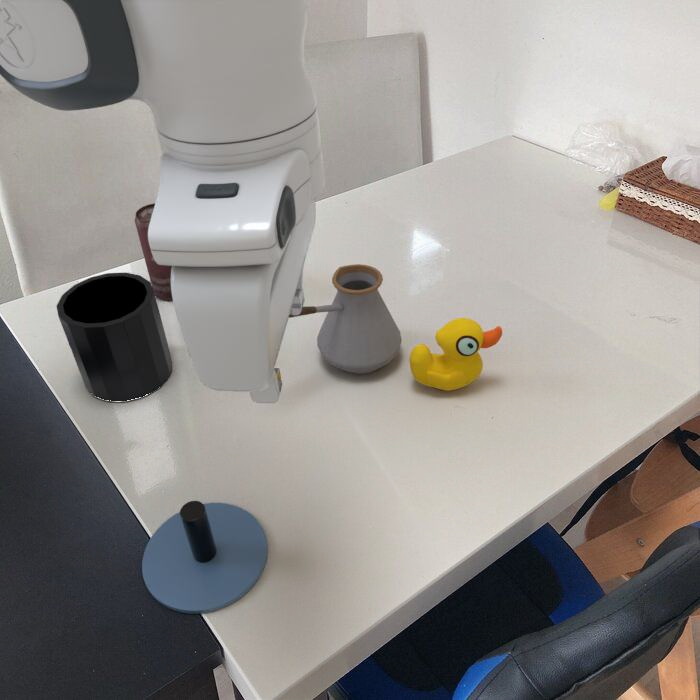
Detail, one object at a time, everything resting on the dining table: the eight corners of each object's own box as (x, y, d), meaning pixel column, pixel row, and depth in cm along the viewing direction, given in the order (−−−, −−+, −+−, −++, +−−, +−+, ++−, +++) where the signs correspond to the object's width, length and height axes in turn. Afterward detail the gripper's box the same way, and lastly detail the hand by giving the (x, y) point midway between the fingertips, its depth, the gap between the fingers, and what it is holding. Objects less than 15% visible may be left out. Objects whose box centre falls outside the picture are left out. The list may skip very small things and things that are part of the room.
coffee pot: (362, 319, 100) (360, 230, 90) (418, 356, 93) (422, 264, 84) (242, 387, 90) (225, 294, 80) (295, 434, 83) (283, 338, 73)
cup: (92, 413, 87) (62, 337, 79) (80, 360, 95) (52, 286, 87) (181, 386, 90) (161, 310, 82) (162, 337, 98) (143, 264, 90)
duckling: (490, 366, 91) (498, 306, 85) (499, 394, 87) (508, 333, 81) (406, 372, 91) (408, 312, 85) (411, 399, 87) (413, 339, 80)
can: (200, 281, 109) (183, 202, 100) (182, 304, 105) (163, 223, 96) (165, 276, 111) (146, 198, 102) (147, 298, 106) (125, 219, 97)
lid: (158, 638, 64) (138, 591, 58) (134, 534, 72) (114, 485, 67) (285, 585, 67) (276, 537, 62) (246, 493, 76) (236, 444, 71)
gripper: (234, 101, 47) (266, 269, 56) (133, 256, 32) (198, 456, 40) (324, 97, 46) (341, 268, 55) (265, 254, 31) (303, 459, 39)
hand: (281, 349), depth 48 cm, fingers open, 8 cm apart
